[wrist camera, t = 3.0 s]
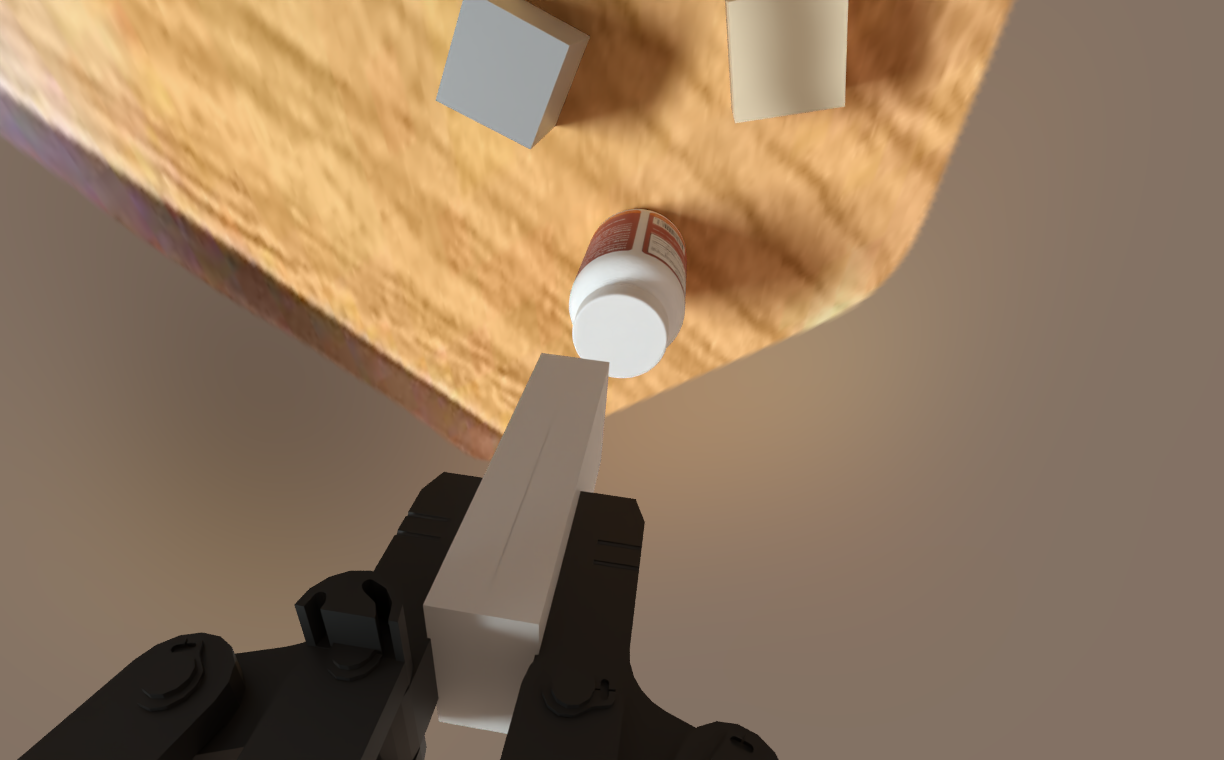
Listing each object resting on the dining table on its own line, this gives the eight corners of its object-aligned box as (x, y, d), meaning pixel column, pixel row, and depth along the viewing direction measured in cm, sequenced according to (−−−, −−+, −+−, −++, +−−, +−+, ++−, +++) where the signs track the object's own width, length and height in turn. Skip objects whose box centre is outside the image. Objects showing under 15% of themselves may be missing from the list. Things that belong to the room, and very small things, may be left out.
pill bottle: (586, 290, 40) (551, 381, 31) (595, 198, 37) (559, 270, 28) (679, 305, 40) (671, 401, 31) (696, 214, 37) (694, 291, 27)
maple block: (731, 106, 33) (734, 122, 29) (725, 0, 31) (728, 2, 26) (826, 91, 32) (844, 106, 28) (828, -20, 30) (848, -21, 25)
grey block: (474, 83, 34) (435, 100, 29) (503, -12, 32) (466, -11, 27) (555, 125, 35) (530, 149, 30) (590, 36, 32) (569, 45, 27)
